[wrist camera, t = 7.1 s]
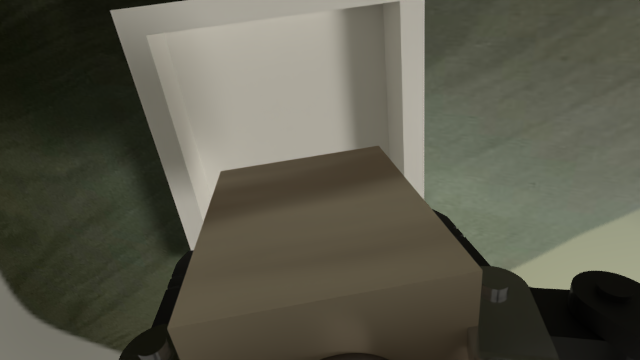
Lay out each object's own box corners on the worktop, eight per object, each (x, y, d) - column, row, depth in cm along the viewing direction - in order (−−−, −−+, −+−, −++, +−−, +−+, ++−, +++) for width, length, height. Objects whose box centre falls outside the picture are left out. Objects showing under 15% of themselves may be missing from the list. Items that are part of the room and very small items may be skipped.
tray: (137, 10, 16) (110, 10, 13) (399, -24, 17) (424, -31, 14) (214, 262, 22) (206, 297, 19) (405, 229, 23) (423, 258, 20)
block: (220, 170, 11) (164, 337, 5) (378, 145, 11) (488, 276, 5) (253, 294, 13) (238, 510, 7) (386, 270, 13) (471, 461, 7)
